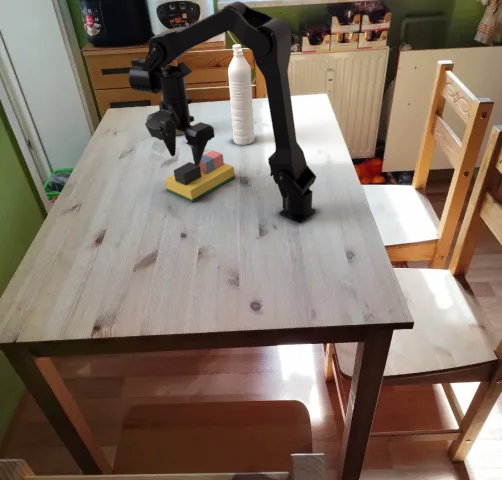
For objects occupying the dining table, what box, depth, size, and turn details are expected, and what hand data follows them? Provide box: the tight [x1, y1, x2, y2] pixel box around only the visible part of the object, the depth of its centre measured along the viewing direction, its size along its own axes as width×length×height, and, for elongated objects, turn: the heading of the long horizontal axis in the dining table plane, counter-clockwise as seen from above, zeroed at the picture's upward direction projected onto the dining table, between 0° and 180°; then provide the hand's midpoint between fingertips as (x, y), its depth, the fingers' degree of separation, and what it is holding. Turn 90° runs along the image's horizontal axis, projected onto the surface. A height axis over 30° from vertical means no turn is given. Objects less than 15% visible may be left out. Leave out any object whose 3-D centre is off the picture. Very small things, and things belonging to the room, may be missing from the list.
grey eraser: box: [173, 161, 202, 185], centre depth 120 cm, size 6×4×3 cm
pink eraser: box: [199, 149, 225, 174], centre depth 124 cm, size 6×4×3 cm, turn 138°
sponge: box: [164, 162, 236, 203], centre depth 125 cm, size 16×10×3 cm, turn 138°
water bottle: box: [227, 43, 255, 146], centre depth 135 cm, size 9×6×25 cm
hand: (185, 160), depth 118 cm, fingers open, 9 cm apart
